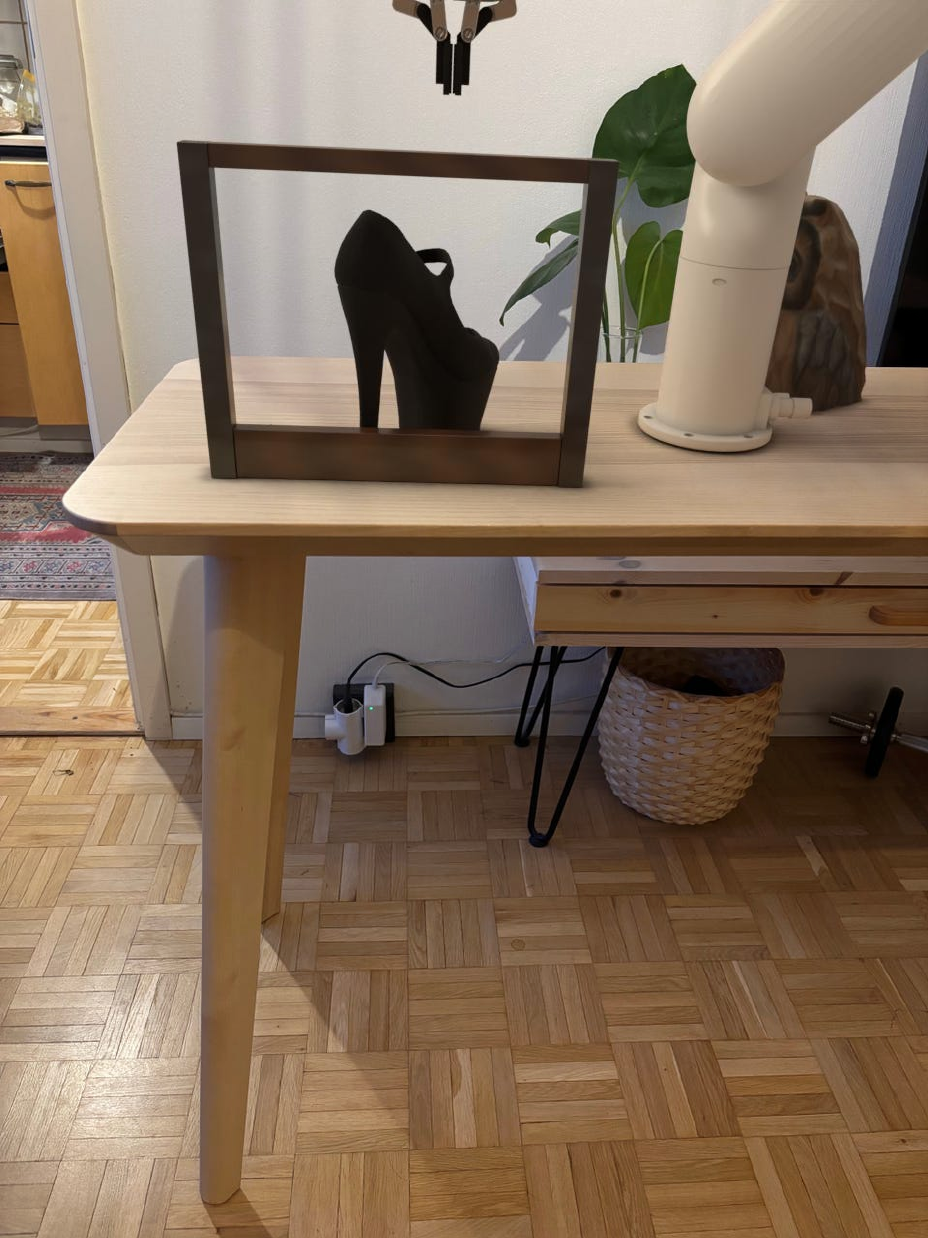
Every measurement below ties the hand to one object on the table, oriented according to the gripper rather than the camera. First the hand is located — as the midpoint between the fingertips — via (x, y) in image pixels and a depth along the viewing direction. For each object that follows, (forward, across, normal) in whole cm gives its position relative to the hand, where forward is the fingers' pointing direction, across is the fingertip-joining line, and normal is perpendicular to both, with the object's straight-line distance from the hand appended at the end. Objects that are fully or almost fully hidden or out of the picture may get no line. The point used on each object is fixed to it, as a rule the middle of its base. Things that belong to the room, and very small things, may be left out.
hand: (451, 94), depth 83 cm
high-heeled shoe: (+27, -2, -17) cm, 32 cm away
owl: (+27, +39, +2) cm, 48 cm away
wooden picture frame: (+27, -4, -24) cm, 36 cm away
